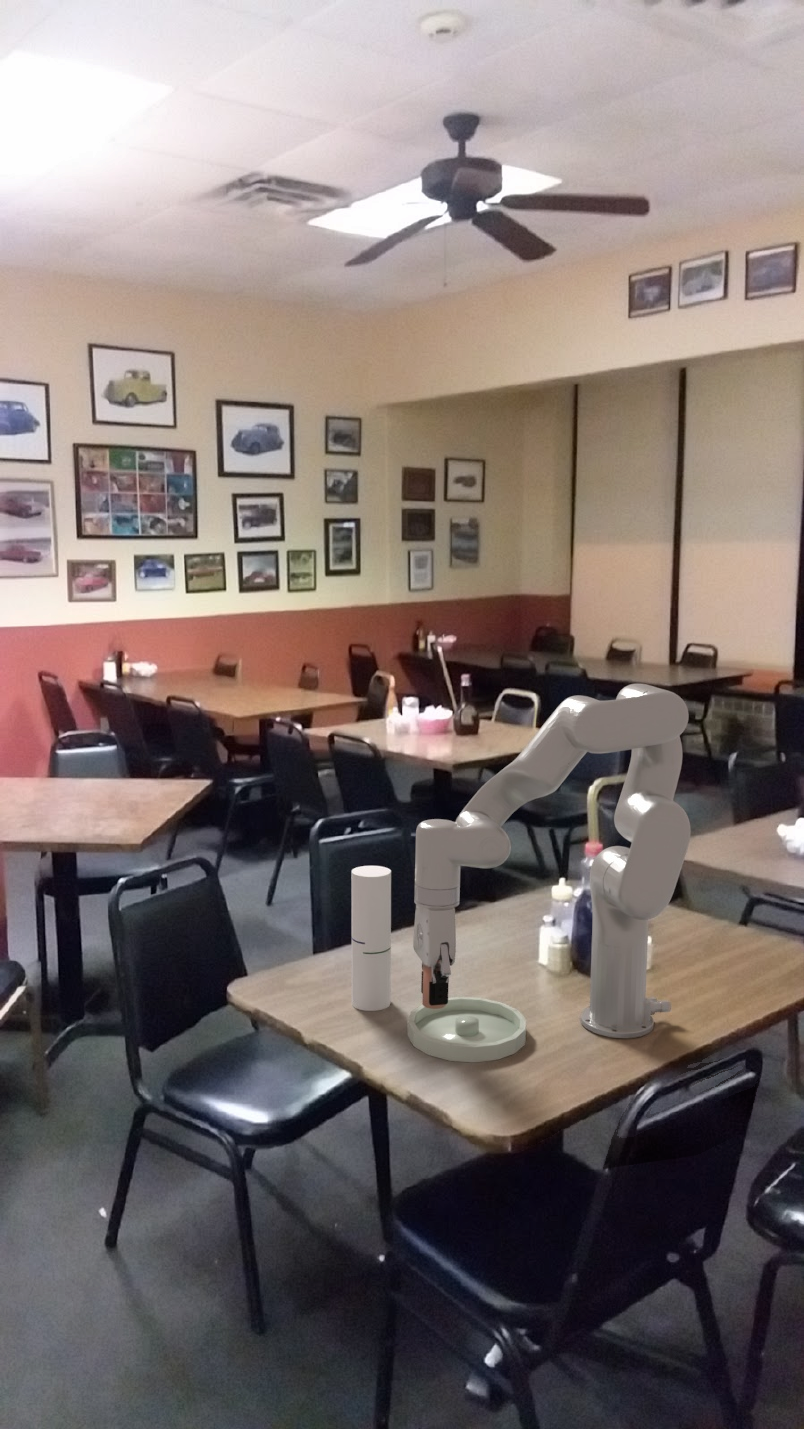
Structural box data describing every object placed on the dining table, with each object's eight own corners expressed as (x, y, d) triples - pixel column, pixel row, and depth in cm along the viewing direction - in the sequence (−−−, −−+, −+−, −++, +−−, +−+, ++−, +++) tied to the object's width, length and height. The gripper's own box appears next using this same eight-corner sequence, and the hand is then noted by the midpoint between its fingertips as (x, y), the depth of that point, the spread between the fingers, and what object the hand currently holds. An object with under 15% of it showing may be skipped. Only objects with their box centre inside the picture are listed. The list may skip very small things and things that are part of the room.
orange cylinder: (419, 1000, 182) (420, 961, 181) (442, 998, 183) (443, 959, 182) (426, 1009, 178) (426, 969, 177) (448, 1007, 179) (449, 967, 178)
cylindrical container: (365, 992, 201) (365, 863, 198) (397, 1000, 197) (398, 869, 194) (344, 1005, 195) (343, 872, 191) (377, 1014, 191) (377, 879, 188)
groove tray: (502, 1005, 195) (502, 992, 195) (543, 1054, 176) (543, 1039, 176) (396, 1016, 190) (396, 1002, 190) (426, 1067, 171) (426, 1052, 171)
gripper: (402, 880, 185) (400, 981, 188) (429, 911, 169) (426, 1021, 172) (444, 878, 187) (441, 978, 190) (474, 908, 171) (470, 1017, 174)
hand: (434, 997), depth 181 cm, fingers closed on orange cylinder, 3 cm apart
